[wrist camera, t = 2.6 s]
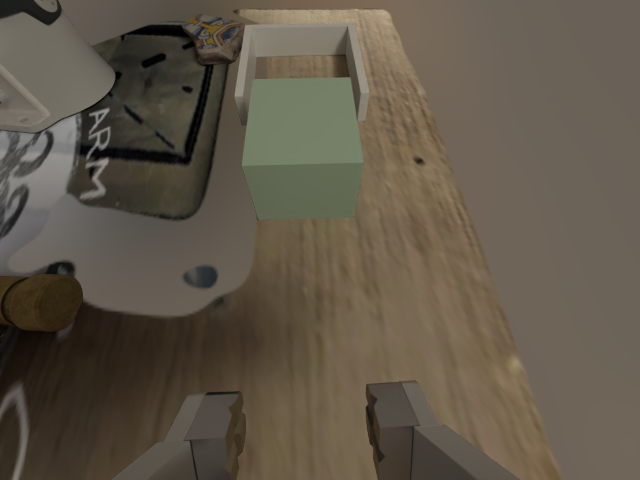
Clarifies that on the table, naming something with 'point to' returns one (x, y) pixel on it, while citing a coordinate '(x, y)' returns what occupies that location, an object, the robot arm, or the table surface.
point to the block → (302, 148)
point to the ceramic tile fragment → (215, 38)
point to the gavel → (39, 302)
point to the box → (300, 43)
